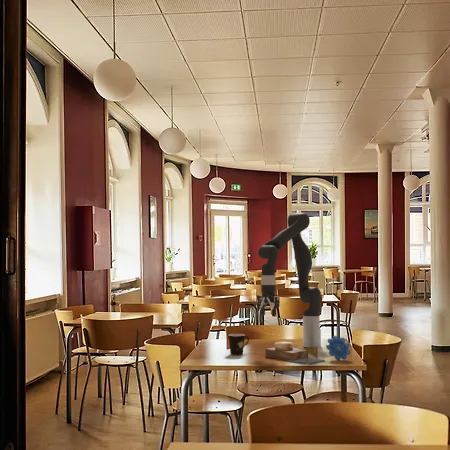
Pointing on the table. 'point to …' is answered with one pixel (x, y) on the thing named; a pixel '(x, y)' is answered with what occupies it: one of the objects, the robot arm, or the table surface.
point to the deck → (286, 354)
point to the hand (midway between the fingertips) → (268, 315)
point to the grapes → (338, 347)
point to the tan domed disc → (284, 346)
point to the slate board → (307, 360)
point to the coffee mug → (237, 343)
